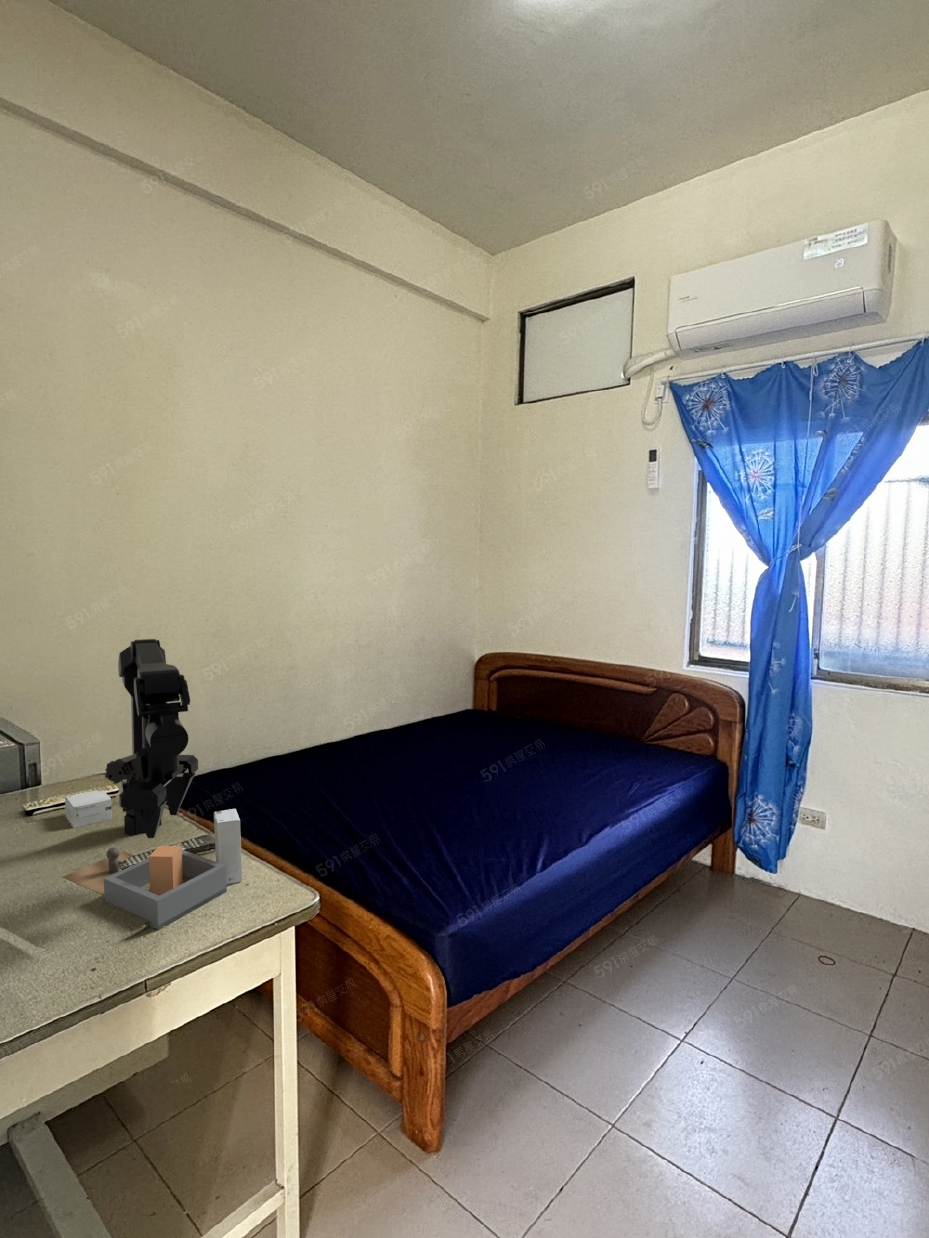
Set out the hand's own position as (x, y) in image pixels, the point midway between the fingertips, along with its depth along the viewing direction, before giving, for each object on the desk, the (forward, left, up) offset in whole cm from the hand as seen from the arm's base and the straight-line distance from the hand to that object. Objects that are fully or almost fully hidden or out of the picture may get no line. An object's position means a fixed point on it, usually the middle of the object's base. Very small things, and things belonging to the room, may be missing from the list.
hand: (162, 825), depth 117 cm
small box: (-12, -42, -13) cm, 46 cm away
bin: (+1, +2, -13) cm, 13 cm away
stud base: (+1, -13, -13) cm, 18 cm away
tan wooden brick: (+1, +2, -12) cm, 12 cm away
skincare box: (-10, +5, -13) cm, 17 cm away
